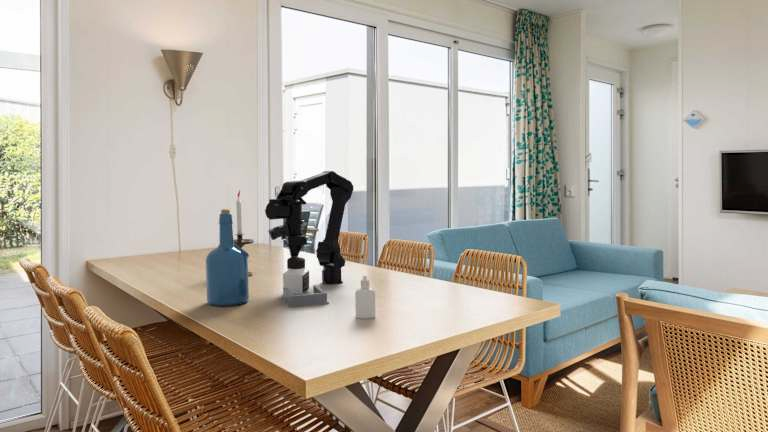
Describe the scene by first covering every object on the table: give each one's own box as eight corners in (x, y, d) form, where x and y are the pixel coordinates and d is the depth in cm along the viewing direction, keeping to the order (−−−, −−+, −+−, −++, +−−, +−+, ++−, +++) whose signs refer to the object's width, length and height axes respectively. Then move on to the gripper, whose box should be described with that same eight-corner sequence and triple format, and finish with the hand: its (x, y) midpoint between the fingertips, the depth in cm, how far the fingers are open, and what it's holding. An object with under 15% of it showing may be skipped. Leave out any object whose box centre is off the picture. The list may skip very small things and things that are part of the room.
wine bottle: (211, 309, 170) (207, 211, 168) (203, 300, 182) (200, 209, 180) (255, 303, 176) (252, 209, 174) (245, 296, 188) (242, 207, 186)
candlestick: (260, 274, 228) (257, 189, 226) (240, 279, 219) (237, 190, 217) (241, 272, 234) (238, 189, 232) (221, 276, 225) (218, 190, 223)
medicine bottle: (303, 295, 188) (302, 260, 186) (282, 293, 189) (282, 259, 187) (309, 289, 195) (309, 256, 193) (290, 288, 196) (289, 255, 194)
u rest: (281, 298, 184) (281, 287, 184) (318, 294, 188) (318, 284, 188) (288, 307, 171) (288, 296, 170) (328, 303, 175) (328, 293, 175)
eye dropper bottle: (361, 314, 161) (360, 273, 160) (377, 316, 158) (377, 274, 157) (353, 318, 157) (352, 276, 156) (370, 320, 154) (369, 277, 154)
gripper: (266, 216, 199) (267, 259, 201) (273, 220, 182) (273, 267, 183) (297, 215, 203) (297, 258, 204) (307, 220, 185) (307, 266, 186)
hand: (293, 262), depth 194 cm, fingers closed
